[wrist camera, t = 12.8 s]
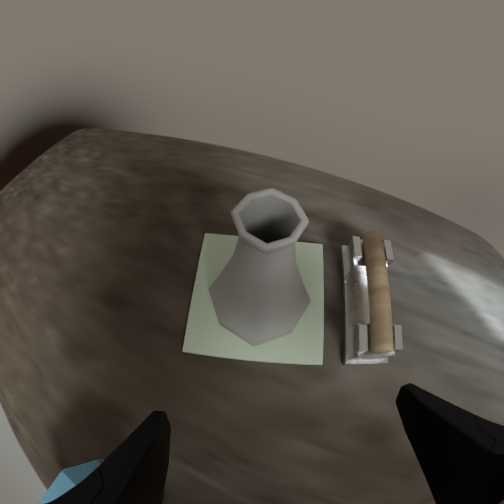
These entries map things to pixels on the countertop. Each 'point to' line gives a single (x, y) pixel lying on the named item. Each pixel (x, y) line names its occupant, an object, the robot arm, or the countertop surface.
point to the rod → (378, 294)
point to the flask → (263, 269)
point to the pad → (231, 346)
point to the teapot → (69, 479)
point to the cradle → (361, 307)
